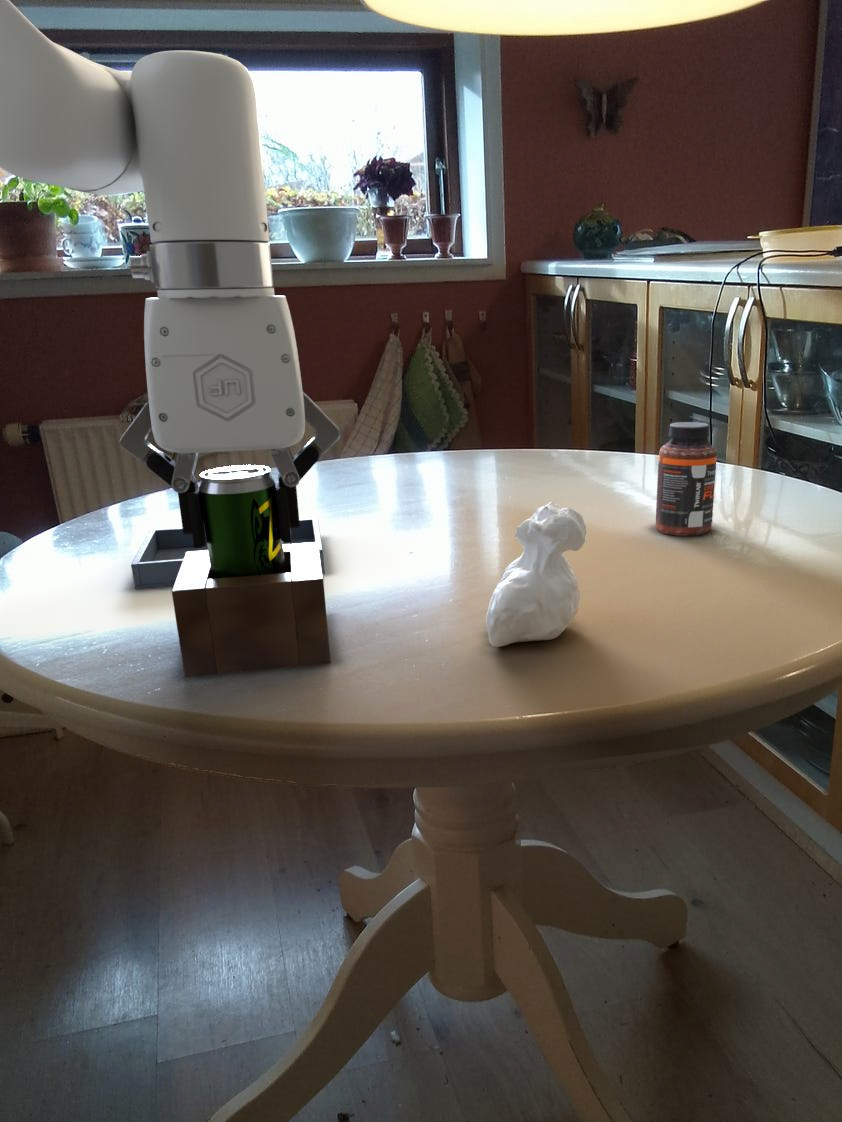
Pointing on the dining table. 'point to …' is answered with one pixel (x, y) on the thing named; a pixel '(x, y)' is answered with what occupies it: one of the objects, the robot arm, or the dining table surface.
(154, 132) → the robot arm
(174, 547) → the tray
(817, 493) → the dining table surface
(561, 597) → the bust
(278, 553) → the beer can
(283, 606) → the can holder
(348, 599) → the dining table surface
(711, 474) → the supplement bottle
